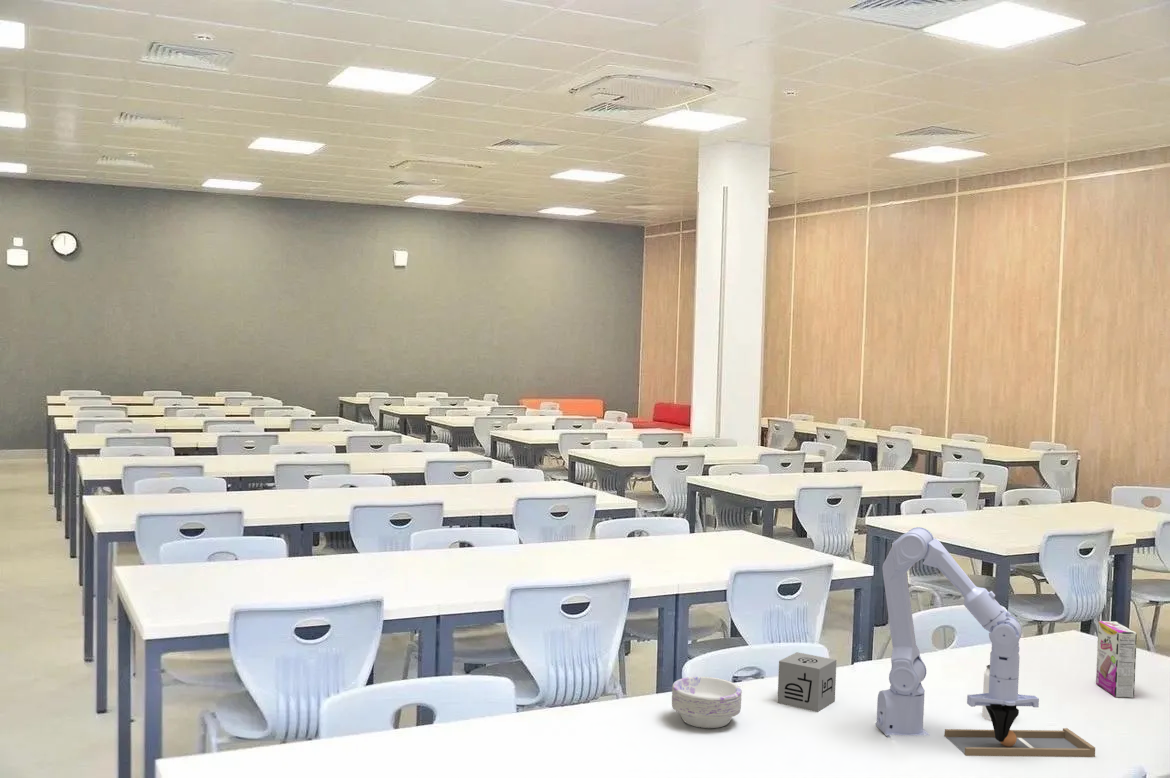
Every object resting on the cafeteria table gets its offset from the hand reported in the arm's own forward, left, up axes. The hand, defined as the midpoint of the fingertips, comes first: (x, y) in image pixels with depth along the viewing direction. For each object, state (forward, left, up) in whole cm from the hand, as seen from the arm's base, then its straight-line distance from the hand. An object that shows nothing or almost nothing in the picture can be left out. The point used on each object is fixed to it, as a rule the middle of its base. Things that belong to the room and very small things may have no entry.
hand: (1001, 740), depth 231 cm
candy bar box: (+47, +41, -2) cm, 63 cm away
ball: (0, 0, +1) cm, 1 cm away
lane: (+3, 0, -2) cm, 4 cm away
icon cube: (-34, +29, -2) cm, 45 cm away
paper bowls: (-60, +15, -2) cm, 62 cm away
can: (+7, +18, -2) cm, 20 cm away
